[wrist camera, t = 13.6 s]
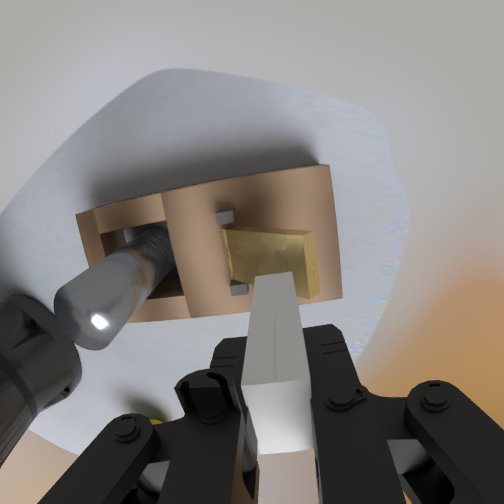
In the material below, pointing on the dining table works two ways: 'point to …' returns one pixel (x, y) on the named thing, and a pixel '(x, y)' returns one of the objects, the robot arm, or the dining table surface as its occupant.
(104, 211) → the block
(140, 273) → the peg
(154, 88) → the dining table surface
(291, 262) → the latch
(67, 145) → the dining table surface
